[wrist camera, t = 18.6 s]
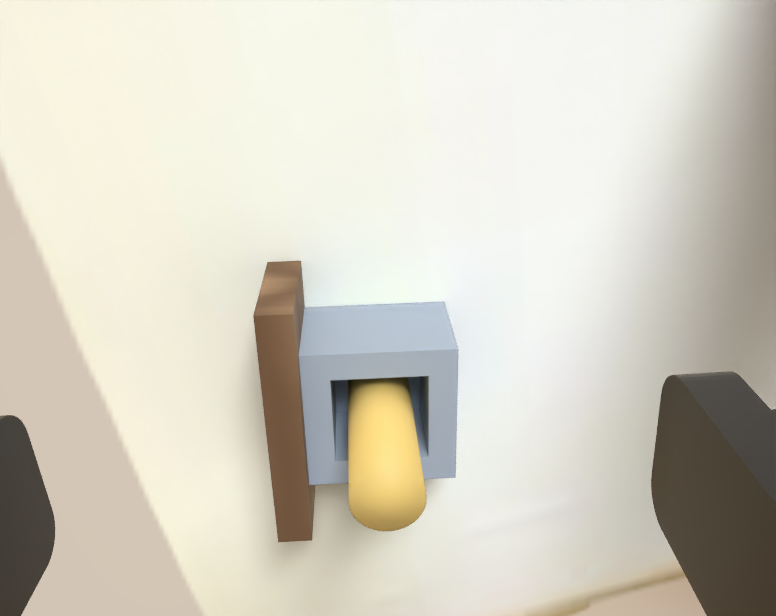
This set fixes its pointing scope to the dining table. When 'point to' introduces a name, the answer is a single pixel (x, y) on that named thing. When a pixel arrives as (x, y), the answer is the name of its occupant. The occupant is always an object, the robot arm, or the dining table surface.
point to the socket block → (378, 360)
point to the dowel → (383, 454)
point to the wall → (284, 397)
